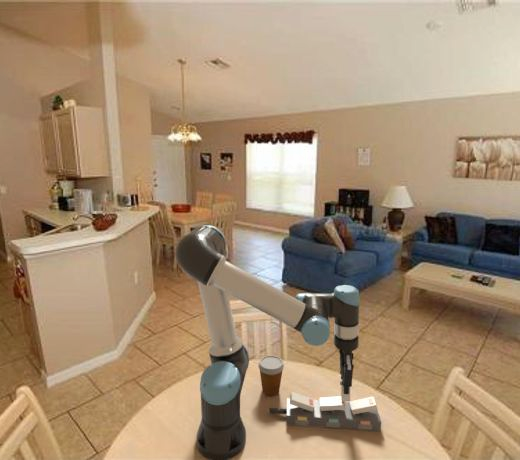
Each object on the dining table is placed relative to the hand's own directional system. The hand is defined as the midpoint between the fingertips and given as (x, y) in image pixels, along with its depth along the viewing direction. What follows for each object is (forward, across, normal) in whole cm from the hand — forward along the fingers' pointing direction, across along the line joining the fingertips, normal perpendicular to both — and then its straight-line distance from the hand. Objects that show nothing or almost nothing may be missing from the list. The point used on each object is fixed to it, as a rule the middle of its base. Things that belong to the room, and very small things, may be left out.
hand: (345, 399), depth 113 cm
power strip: (+7, 0, +7) cm, 10 cm away
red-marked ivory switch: (+1, 0, +14) cm, 14 cm away
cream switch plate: (+2, 0, +4) cm, 4 cm away
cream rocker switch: (+2, 0, -6) cm, 6 cm away
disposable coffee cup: (+7, +12, +26) cm, 29 cm away
